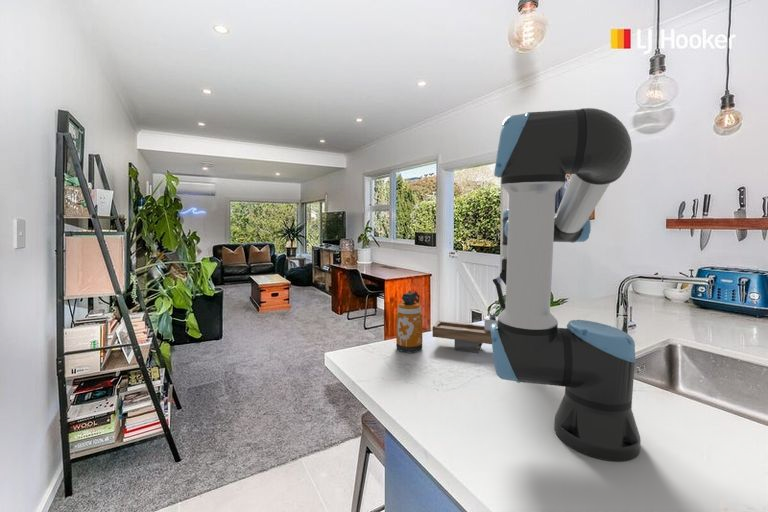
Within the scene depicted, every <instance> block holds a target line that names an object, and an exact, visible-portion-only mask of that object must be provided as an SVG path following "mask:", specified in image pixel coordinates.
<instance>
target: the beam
mask: <svg viewBox="0 0 768 512" xmlns="http://www.w3.org/2000/svg"><path fill="white" fill-rule="evenodd" d="M484 329H485V325H481V324H480V325H478V324H474V323H462V322H461V323H460V322H452V321H445V320H438V321H437V322H436V323H435V324H434V325H433V326H432V336H431V337H432V338H439V339H447V340H454V345H453V346H454V349H455V350H454V351H459V350H460V352H467V353H475V354H479V352H480V351H481V348H482V345H483V344H488V345H492V338H491V333H488V332H484Z"/></svg>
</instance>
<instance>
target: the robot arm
mask: <svg viewBox="0 0 768 512" xmlns="http://www.w3.org/2000/svg"><path fill="white" fill-rule="evenodd" d="M632 147H633V146H632V140H631V136H630V134H629V131H628V129H627V128H626V126H625V125H624V123H623V122H622V121H621V120H619V118H617V117H616V116H615V115H613V114H611V113H610V112H608V111H606V110H602V109H599V108H594V107H593V108H592V107H591V108H590V107H587V108H580V109H563V110H547V111H528V112H525V113H519V114H513V115H509V116H507V117H506V118H504V120H503V121H502V124H501V128H500V135H499V140H498V146H497V152H496V159H495V165H494V171H493V176H494V177H496V178H498V179H499V178H501V180H500V181H501V183H500V185H501V188H503V189H504V190H505V192H506V193H507V194H508V209H505V210H504V211H503V213H502V244H501V257H502V259H501V269H500V270H501V271H500V273H499V276H498V275H497V277H494V278H493V279H492V282H493V285H494V286H495V288H496V293H497V297H498V301H499V306H500V308H502V309H503V310H502V311H501V312H499V314H498V315H497V317H498V323H493V324H491V326H490V328H491V338H492V344H491V348H492V355H493V363H494V364H493V365H494V370H495V371H494V372H495V374H496V376H497V377H498V378H499V379H501V380H506V381H511V382H516V383H519V384H520V383H524V384H525V383H526V384H534V385H535V384H537V385H546V386H555V387H564V395H563V397H562V400H561V402H560V404H559V406H558V408H557V411H556V413H555V415H554V421H553V423H554V425H553V430H554V433H555V434H556V436H557V437H558V438H559V439H560V440H561V441H562V442H563V443H564V444H566V445H567V446H568V447H570V448H571V449H573V450H575V451H577V452H579V453H581V454H584V455H587V456H589V457H593V458H595V459H601V460H604V461H605V460H606V461H614V462H615V461H616V462H624V461H629V460H632V459H635V458H637V456H638V455H640V452H641V441H642V440H641V435H640V433H639V429H638V425H637V423H636V420H635V415H634V413H633V409H632V408H633V406H632V405H633V394H634V393H633V392H634V378H635V377H634V376H635V365H636V361H637V358H636V344H635V340H634V338H633V337H632V336H631V335H630V334H628V333H627V332H625V331H624V330H621V329H619V328H616V327H615V326H612V325H608V324H604V323H601V322H597V321H593V320H586V319H573V320H570V321H568V323H567V325H566V327H565V328H564V327H558V325H559V323H558V322H559V321H558V318H555V316H554V315H553V314H552V313H551V298H552V279H553V278H552V276H553V258H554V257H553V254H554V243H556V242H557V243H581V242H583V243H584V242H586V241H588V239H589V238H590V233H591V230H592V229H591V227H592V226H591V225H592V224H591V219H590V217H591V215H592V213H593V212H594V210H595V209H596V207H597V205H598V204H599V202H600V201H601V199H602V197H603V196H604V194H605V192H606V191H607V189H608V187H609V186H610V184H612V183H614V182H616V181H617V180H619V179H620V178H621V177H622V175H623V174H624V173H625V172H626V169H627V167H628V165H629V164H630V161H631V157H632V153H633V152H632V151H633V149H632ZM566 175H571V177H570V180H569V182H568V185H566ZM564 185H566V188H565V192H564V194H563V197H562V199H561V201H560V203H559V206H558V209H557V210H556V194H557V192H559V190H560V189H562V187H564ZM555 211H556V212H555ZM502 281H503V284H504V285H505V298H504V295H503V294H504V293H503V289H502V286H501V282H502Z"/></svg>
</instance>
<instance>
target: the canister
mask: <svg viewBox="0 0 768 512" xmlns="http://www.w3.org/2000/svg"><path fill="white" fill-rule="evenodd" d="M395 318H396V319H395V320H396V324H395V328H396V332H395V334H396V335H395V336H396V337H395V338H396V339H395V340H396V345H395V346H396V349H397V350H399V351H401V352H404V353H415V352H418V351H421V350H422V349H423V312H422V306H421V304H420V294H418V292H417V291H416V290H415V291H414V292H412V291H410V290H409V291H408V292H406V293H403V294H402V296H401V300H400V303H399V304H398V305H397V311H396V313H395Z"/></svg>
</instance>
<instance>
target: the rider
mask: <svg viewBox="0 0 768 512" xmlns="http://www.w3.org/2000/svg"><path fill="white" fill-rule="evenodd" d="M493 323H498V316H497V314H496V313H495V312H490V313H489V315H486V316H485V318H484V326H485V329H484V332H488V333H491V328H490V326H491V324H493Z"/></svg>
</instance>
